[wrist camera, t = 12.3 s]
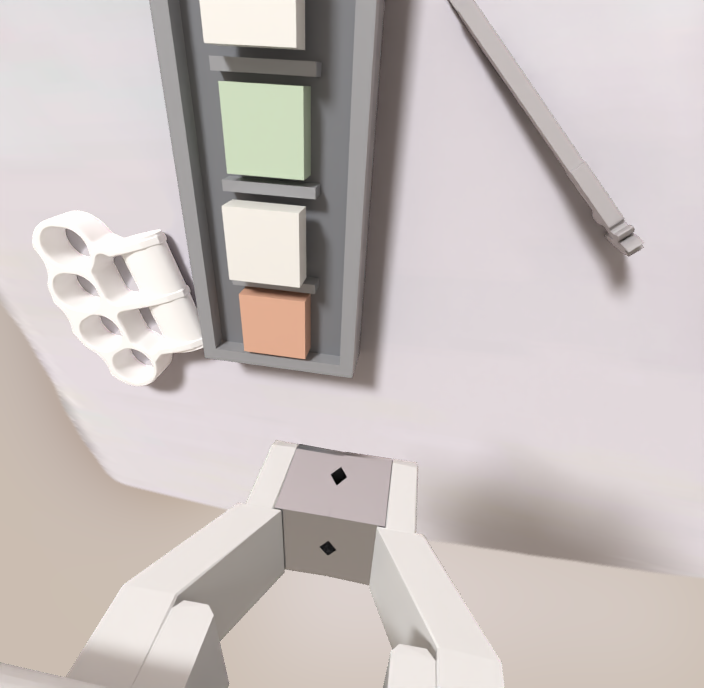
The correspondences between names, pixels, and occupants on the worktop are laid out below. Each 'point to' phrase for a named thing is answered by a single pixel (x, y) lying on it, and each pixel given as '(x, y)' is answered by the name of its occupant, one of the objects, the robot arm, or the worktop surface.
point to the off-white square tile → (265, 242)
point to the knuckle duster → (119, 294)
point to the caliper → (549, 129)
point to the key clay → (276, 321)
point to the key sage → (266, 129)
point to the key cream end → (254, 23)
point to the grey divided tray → (314, 192)
